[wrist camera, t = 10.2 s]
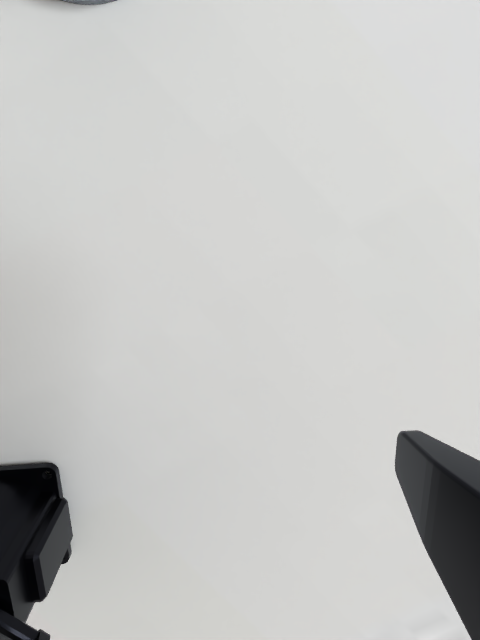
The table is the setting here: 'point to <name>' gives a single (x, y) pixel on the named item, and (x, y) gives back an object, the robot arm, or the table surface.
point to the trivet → (89, 1)
